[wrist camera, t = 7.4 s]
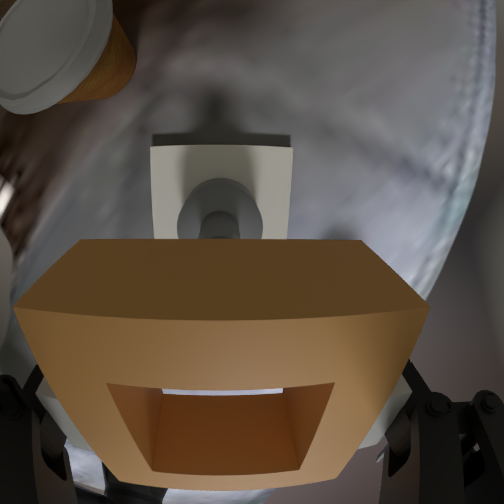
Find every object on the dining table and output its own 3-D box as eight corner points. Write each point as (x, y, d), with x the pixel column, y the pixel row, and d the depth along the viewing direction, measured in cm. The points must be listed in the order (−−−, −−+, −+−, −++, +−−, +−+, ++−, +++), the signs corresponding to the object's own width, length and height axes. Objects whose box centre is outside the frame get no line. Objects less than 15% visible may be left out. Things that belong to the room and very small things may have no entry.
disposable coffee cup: (121, 6, 17) (67, -51, 6) (174, 68, 20) (136, 20, 9) (48, 73, 18) (-33, 59, 7) (93, 137, 22) (12, 148, 11)
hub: (159, 271, 28) (135, 335, 18) (153, 146, 23) (111, 155, 14) (281, 271, 29) (306, 334, 20) (290, 147, 24) (330, 156, 15)
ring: (132, 413, 10) (119, 481, 7) (80, 239, 7) (12, 306, 4) (316, 412, 11) (335, 478, 8) (361, 240, 8) (430, 306, 5)
